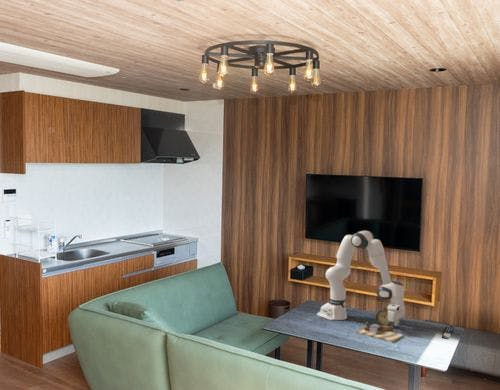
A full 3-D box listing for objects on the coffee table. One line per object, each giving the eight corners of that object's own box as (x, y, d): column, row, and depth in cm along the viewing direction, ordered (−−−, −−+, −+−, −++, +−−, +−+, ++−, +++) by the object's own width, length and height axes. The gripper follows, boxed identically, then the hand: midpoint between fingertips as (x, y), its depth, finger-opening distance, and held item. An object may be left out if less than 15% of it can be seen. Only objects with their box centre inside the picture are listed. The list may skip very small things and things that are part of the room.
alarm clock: (375, 326, 335) (376, 303, 334) (377, 323, 340) (378, 301, 339) (391, 328, 330) (392, 305, 329) (393, 326, 335) (393, 303, 334)
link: (364, 330, 322) (364, 323, 322) (363, 328, 327) (363, 320, 326) (393, 331, 320) (393, 324, 320) (392, 329, 325) (392, 322, 324)
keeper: (369, 332, 319) (369, 326, 319) (373, 330, 324) (373, 323, 324) (376, 334, 316) (376, 327, 315) (380, 331, 321) (380, 325, 320)
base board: (356, 333, 321) (356, 331, 321) (367, 327, 333) (367, 325, 333) (393, 342, 304) (393, 340, 304) (403, 336, 316) (403, 334, 315)
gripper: (399, 301, 337) (398, 320, 338) (386, 307, 322) (385, 327, 323) (407, 302, 333) (407, 322, 334) (395, 309, 318) (394, 329, 319)
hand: (396, 325), depth 328 cm, fingers closed
